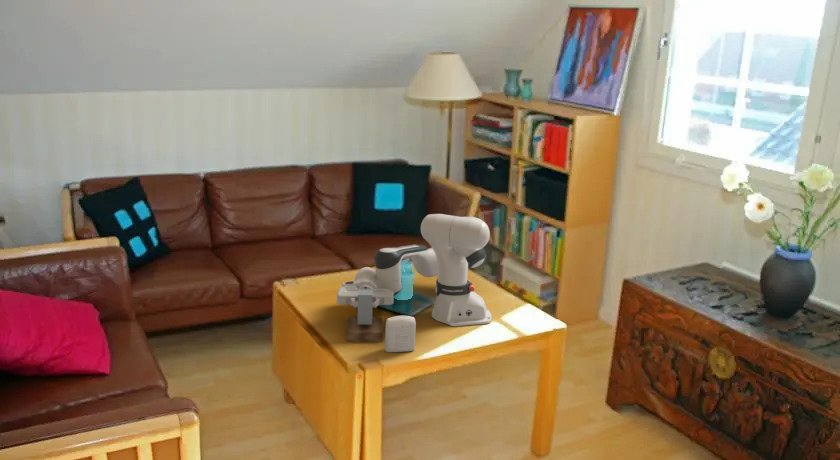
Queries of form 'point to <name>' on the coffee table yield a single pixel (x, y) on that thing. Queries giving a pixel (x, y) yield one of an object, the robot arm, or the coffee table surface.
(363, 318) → the grey pillar
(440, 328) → the coffee table surface
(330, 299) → the coffee table surface
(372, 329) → the walnut block
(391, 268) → the robot arm
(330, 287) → the coffee table surface
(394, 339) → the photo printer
